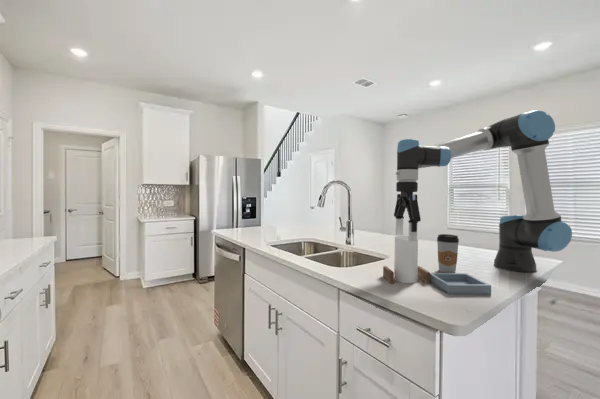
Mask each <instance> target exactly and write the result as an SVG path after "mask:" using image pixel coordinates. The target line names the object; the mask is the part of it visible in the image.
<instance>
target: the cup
mask: <svg viewBox="0 0 600 399" xmlns="http://www.w3.org/2000/svg"><path fill="white" fill-rule="evenodd" d="M408 239H409V235H395V236H394V261H393V262H394V270H393V272H394V281H397V282H399V283H402V284H403V283H405V284H414V283H415V284H416V283H417V282H418V277H417V270H418V266H419V264H418V263H419V262H418V261H419V260H418V257H419V256H418V255H419V253H418V252H419V239H418V237H417V241H408Z"/></svg>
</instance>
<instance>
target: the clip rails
mask: <svg viewBox="0 0 600 399" xmlns="http://www.w3.org/2000/svg"><path fill="white" fill-rule="evenodd" d="M382 269H383V271H382V272H383V274H382V276H383V278H384V279H385V280H386V281H387V282H388V283H389V284H394V283H395V279H394V270H392V269H391V268H389V267H388V266H387V265H383V267H382ZM430 273H431V272H430V271H429V270H427V269H425V268H423V267H422V266H419V265H418V270H417V279H420V280H421V281H422V282H424V283H426V284H431V282H430Z"/></svg>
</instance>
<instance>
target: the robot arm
mask: <svg viewBox="0 0 600 399" xmlns="http://www.w3.org/2000/svg"><path fill="white" fill-rule="evenodd" d="M555 132H556V124H555V121H554V119H553V117H552V116H551V115H550V114H549V113H547V112H546V111H544V110H537V109H536V110H531V111H526V112H523V113H519V114H518V115H514V116H510V117H508V118H504V119H501V120H498V122H497V121H496V122H494V123H492V124H490V125H487V126H485V127H481V128H479V129H478V130H477V131H476V132H474V133H470V134H467V135H466V134H465V135H463V136H461V137H460V136H459V137H457V138H453V139H450V140H447V141H442V142H440V143H437V144H433V145H420V141H419V140H418V139H416V138H405V139H400V140H399V141H398V142H397V150H396V154H397V155H396V172H395V175H396V181H397V182H396V184H395V185H396V186H395V188H396V189H395V191H396V192H397V194H396V203H395V208H394V212H393V216H394V217H395V236H404V219H405V218H404V214H405V212H406V211H407V216H408V217H409V218H408V219H409V220H408V236H409V239H408V241H417V238H418V223H419V222H421V221H422V218H421V214H420V213H421V212H420V208H419V202H418V194H414V193H417V192H418V186H419V185H418V184H419V183H418V180H419V169H422V168H423V169H424V168H430V167H438V168H441V167H446V166H448V165H449V163H451V160H452V159H454V158H457V157H461V156H464V155H468V154H471V153H475V152H477V151H480V150H482V151H489V150H492V149H499V148H507V147H509V148H510V149H511V152H513V154H516V157H517V163H518V168H519V173H520V174H519V175H520V179H521V187H522V193H523V198H524V205H525V210H526V213H525V214H517V215H502V216H501V217H500V218H499V224H498V225H499V226H498V228H499V229H498V232H499V233H498V234H499V236H498V237H499V238H498V244H499V245H498V250H497V253H496V256H495V257H494V260H493V261H494V262H493V265H494V266H495V267H497V268H500V269H503V270H507V271H514V272H525V273H531V272H536V271H537V263H536V260H535V257H534V254H533V251H532V249H537V250H540V251H544V252H553V253H554V252H556V253H557V252H560V251H563V250H564V249H566V247H567V246H568V245H569V244H570V243H571V240H572V238H573V231H572V228H571V226H570V225H568V223H566V222H564V221H562V216H561V214H560V213H558V212H557V211H556V210H555V205H554V199H553V192H552V186H551V180H550V174H549V168H548V161H547V155H546V154H547V153H546V148H547V147H548V146H549V145H550V141H549V139H550V138H552V137H553V135H554V133H555ZM399 192H400V193H399Z"/></svg>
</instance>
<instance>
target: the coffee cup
mask: <svg viewBox="0 0 600 399" xmlns="http://www.w3.org/2000/svg"><path fill="white" fill-rule="evenodd" d="M459 240H460V239H459V237H458V235H457V234H456V235H455V234H447V233H445V234H444V233H440V234H438V235H437V237H436V242H437V262H438V269H439V272H440V273H456V271H457V270H456V269H457V262H458V254H459V253H458V252H459V242H460V241H459Z"/></svg>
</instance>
